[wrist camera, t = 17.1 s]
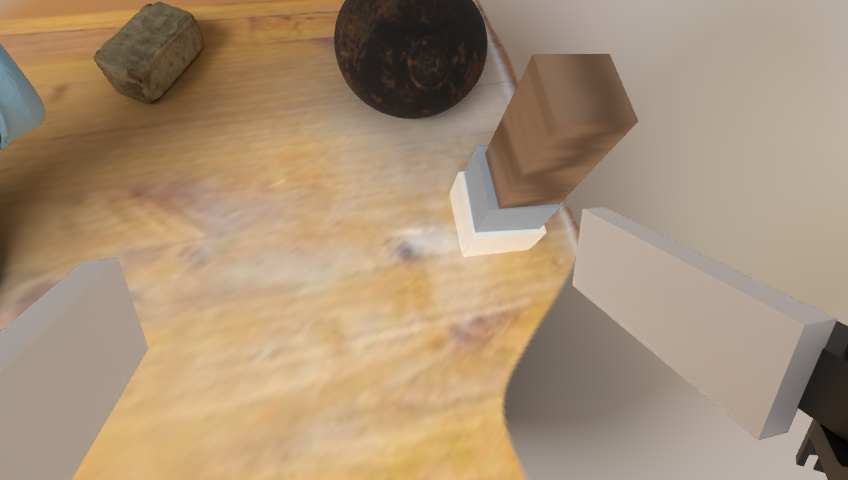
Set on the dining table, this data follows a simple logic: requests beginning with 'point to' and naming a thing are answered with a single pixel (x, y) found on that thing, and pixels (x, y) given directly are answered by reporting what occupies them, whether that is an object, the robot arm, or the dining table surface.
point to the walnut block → (557, 128)
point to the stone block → (150, 51)
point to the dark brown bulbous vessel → (410, 53)
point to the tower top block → (486, 204)
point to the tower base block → (485, 240)
